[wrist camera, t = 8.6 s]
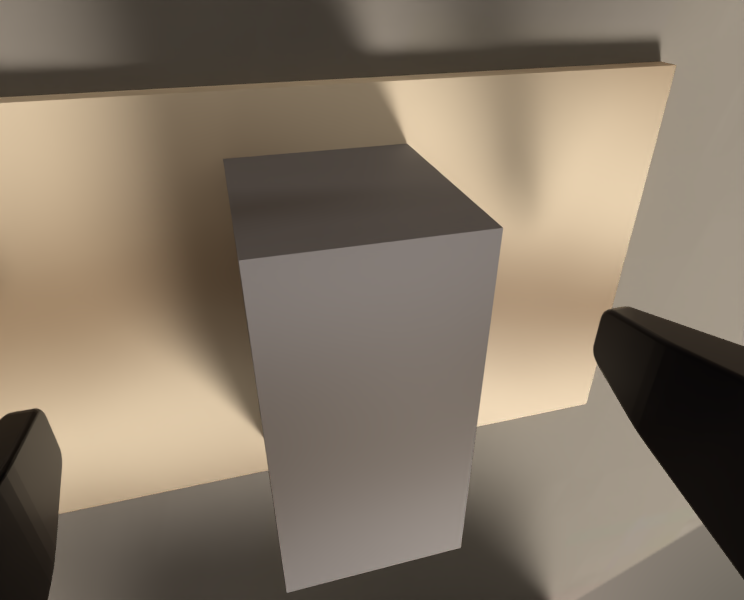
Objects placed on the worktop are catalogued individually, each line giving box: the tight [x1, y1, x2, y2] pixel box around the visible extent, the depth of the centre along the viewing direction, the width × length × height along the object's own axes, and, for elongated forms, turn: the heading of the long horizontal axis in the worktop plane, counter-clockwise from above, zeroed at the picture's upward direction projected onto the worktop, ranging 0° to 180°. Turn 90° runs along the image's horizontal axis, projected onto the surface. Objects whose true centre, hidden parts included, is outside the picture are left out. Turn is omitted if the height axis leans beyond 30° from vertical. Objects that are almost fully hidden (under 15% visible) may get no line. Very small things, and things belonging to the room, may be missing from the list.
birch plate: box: [0, 62, 676, 593], centre depth 10 cm, size 8×13×4 cm, turn 90°
